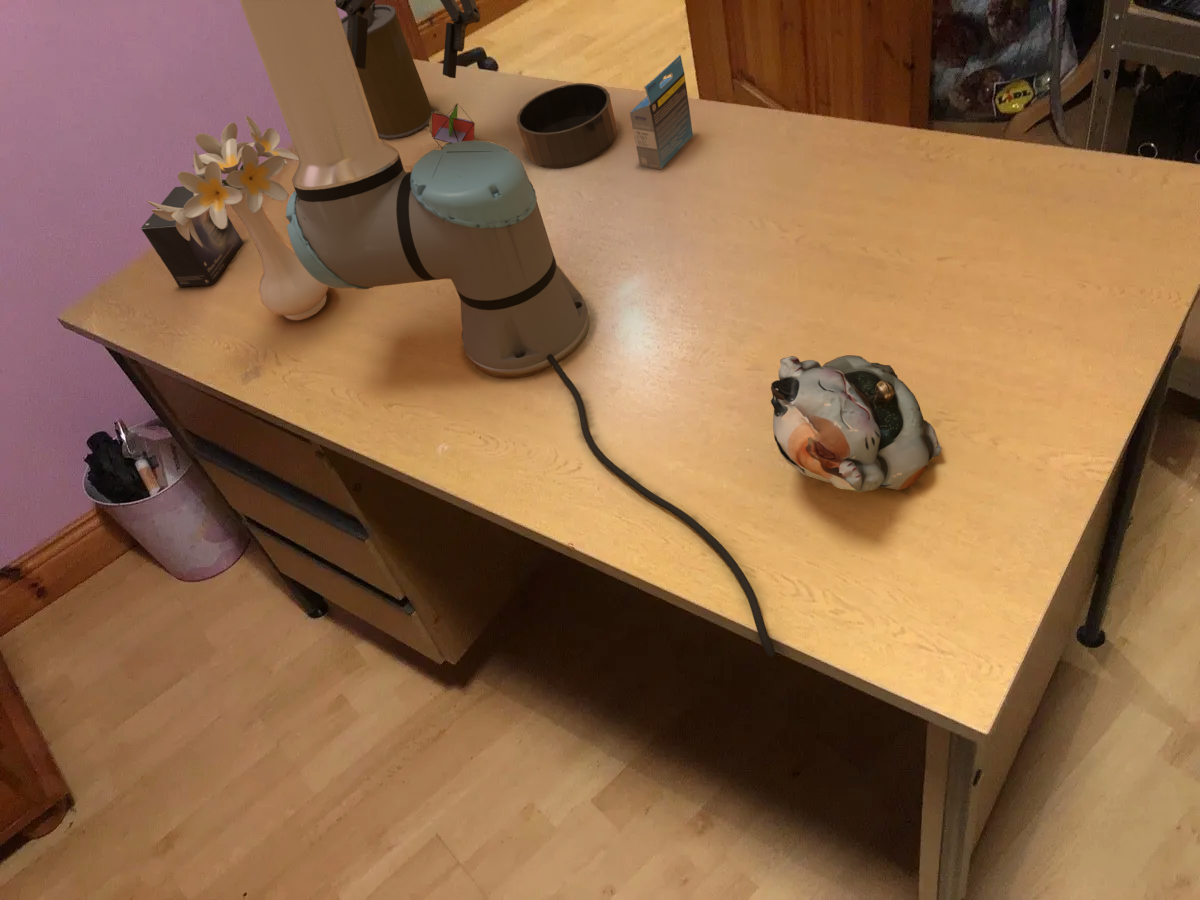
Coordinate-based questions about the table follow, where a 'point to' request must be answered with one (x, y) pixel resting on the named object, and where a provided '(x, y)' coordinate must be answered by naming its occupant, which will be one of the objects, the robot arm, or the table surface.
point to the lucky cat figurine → (850, 424)
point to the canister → (391, 77)
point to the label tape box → (662, 118)
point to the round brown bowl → (567, 125)
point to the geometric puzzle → (451, 127)
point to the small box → (192, 244)
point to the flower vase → (249, 212)
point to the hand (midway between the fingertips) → (403, 72)
